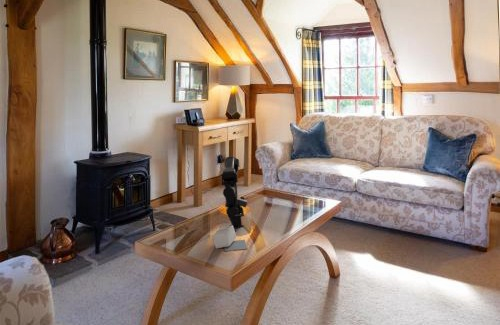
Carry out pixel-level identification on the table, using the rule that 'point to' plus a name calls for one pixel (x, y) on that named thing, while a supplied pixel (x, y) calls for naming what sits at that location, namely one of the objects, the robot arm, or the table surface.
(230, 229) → the supplement box
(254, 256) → the table surface
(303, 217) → the table surface
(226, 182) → the robot arm
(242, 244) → the mat
